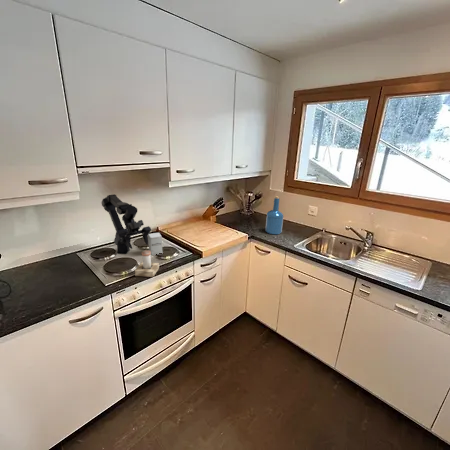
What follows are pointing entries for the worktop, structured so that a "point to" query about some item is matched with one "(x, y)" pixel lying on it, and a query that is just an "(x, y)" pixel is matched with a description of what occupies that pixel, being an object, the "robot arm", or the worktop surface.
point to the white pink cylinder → (146, 259)
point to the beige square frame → (147, 270)
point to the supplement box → (155, 243)
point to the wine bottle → (274, 219)
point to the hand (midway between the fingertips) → (139, 246)
